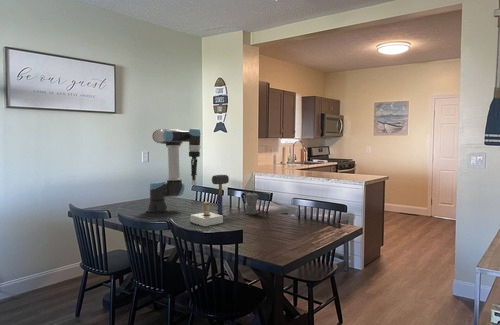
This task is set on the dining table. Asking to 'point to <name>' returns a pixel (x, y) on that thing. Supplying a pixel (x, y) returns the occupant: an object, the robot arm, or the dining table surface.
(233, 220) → the dining table surface
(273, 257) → the dining table surface
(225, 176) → the rubber mallet
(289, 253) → the dining table surface
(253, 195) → the coffeepot
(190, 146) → the robot arm
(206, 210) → the beech peg
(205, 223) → the socket block
